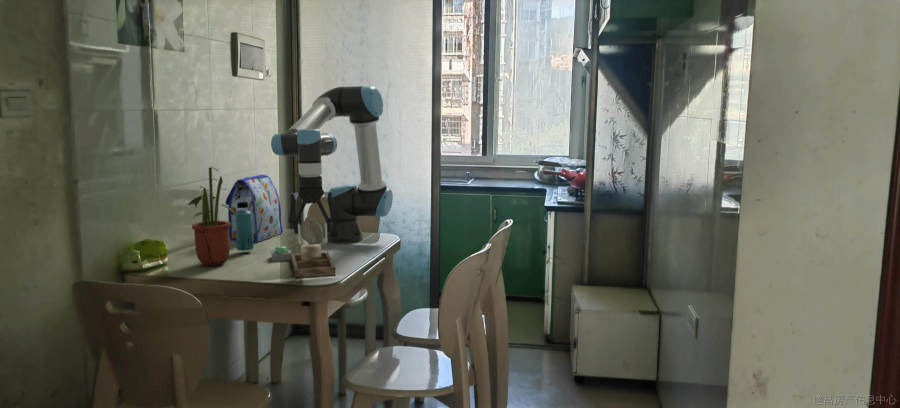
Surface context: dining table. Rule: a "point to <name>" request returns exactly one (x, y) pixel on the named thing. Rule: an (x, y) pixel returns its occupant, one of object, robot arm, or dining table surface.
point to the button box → (281, 256)
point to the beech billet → (310, 252)
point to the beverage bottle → (244, 228)
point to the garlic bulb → (312, 231)
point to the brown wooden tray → (313, 266)
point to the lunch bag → (256, 206)
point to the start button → (281, 249)
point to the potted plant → (211, 229)
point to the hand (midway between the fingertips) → (312, 242)
